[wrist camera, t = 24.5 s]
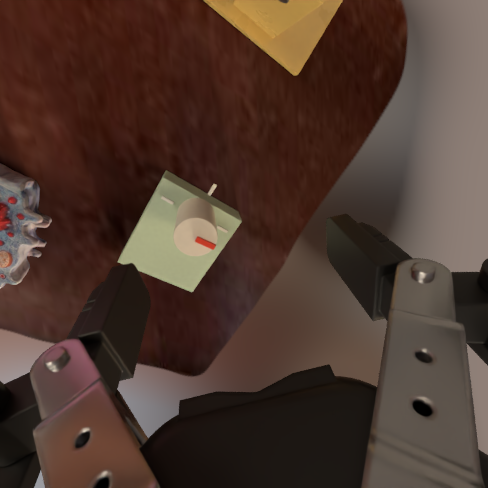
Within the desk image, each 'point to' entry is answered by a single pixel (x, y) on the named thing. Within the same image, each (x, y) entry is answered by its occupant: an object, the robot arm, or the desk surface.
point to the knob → (195, 227)
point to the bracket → (280, 25)
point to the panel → (162, 229)
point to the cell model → (18, 224)
